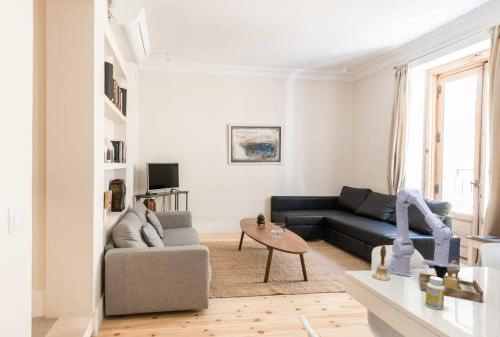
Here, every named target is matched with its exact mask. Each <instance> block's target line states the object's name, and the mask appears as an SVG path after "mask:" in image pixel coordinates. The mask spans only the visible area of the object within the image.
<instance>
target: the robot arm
mask: <svg viewBox="0 0 500 337" xmlns="http://www.w3.org/2000/svg"><path fill="white" fill-rule="evenodd" d="M411 204H412V205H415V206H416V207H417V209H419V211H420V212H421V213H422V215H423V216H424V221H425V222H426V223H427V225H428V226H429V228H430V229H431V230H432V236H433V240H434V250H433V252H434V254H433V260H432V259H422V265H426V266H433V269H434V271H435V276H437V277H439V278H442V279H443V277H444V275H446V274H447V273H446V272H447V268H449V269H455V270H459V267H460V264H459V265H455V264H450V263H451V262H450V263H449V256H450V255H449V253H450V242H451V239H453V236H454V232H453V230H452V228H451V227H449V226H446V224H445V223H444V222H443V221H442V219H441V218H440V215H439V214H436V213H433V212H432V210H431V209H430V208H429V206H428V204H427V203H426V202H425V200H424V199H423V194H422V193H421V192H420V190H418V189H416V188H413V189H411V188H401V189H399V190H398V191H397V193H396V202H395V212H396V215H395V216H396V238H395V239H393V241H392V242H393V243H392V244H393V245H392V248H391V250H392V253H393V254H391V255H390V265H389V274H393V275H398V274H399V275H398V276H406V277H409V276H410V277H411V271H410V270H411V269H410V267H411V258H412V255H414V253H415V247H414V244H413V240H412V239H411V238H410V235H409V234H410V233H409V232H410V231H409V216H408V214H409V212H408V211H409V210H408V207H409V206H411ZM445 273H446V274H445Z"/></svg>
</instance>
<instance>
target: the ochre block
mask: <svg viewBox="0 0 500 337" xmlns="http://www.w3.org/2000/svg"><path fill="white" fill-rule="evenodd" d="M457 279H458V278H457ZM457 279H456V277H455V276H453V275H452V276H448V275H446V274H445V275H444V277H443V286H444V287H449V288H454V289H457Z"/></svg>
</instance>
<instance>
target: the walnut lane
mask: <svg viewBox="0 0 500 337" xmlns="http://www.w3.org/2000/svg"><path fill="white" fill-rule="evenodd" d="M431 276H435V277H437V275H435V274H429V273H421V272H419V278H418V279H419V280H418V281H420V282H419V287H420V291H421V292H425V293H426V289H427V283H429V282H430V277H431ZM442 285H443V284H442ZM445 296H446V297H450V298H455V299H456V298H457V299H461V300H465V301H466V300H467V301H471V302H477V303H480V304H481V303H483V302H484V301H483V300H484V299H483V298H484V291H483V290H482V288H481V287H480V285H479V284H478V283H477V281H476V280H474V279H473V280H472V281H466V280H462V279H458V280H457V289H454V288H449V287H445V292H444V297H445Z"/></svg>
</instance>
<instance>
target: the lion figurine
mask: <svg viewBox="0 0 500 337" xmlns="http://www.w3.org/2000/svg"><path fill="white" fill-rule="evenodd" d="M450 264H455V265H459V270H455V269H449V268H447V272H446V273H445V275H446V274H447V276H452V277H453V275H455V276H454V277H456V279H457V280H459V279H458V276H459V273H460V270H461V269H460V268H461V267H460V263H459V261H457V260H456V259H455V260H452V261H451V262H450Z"/></svg>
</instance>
